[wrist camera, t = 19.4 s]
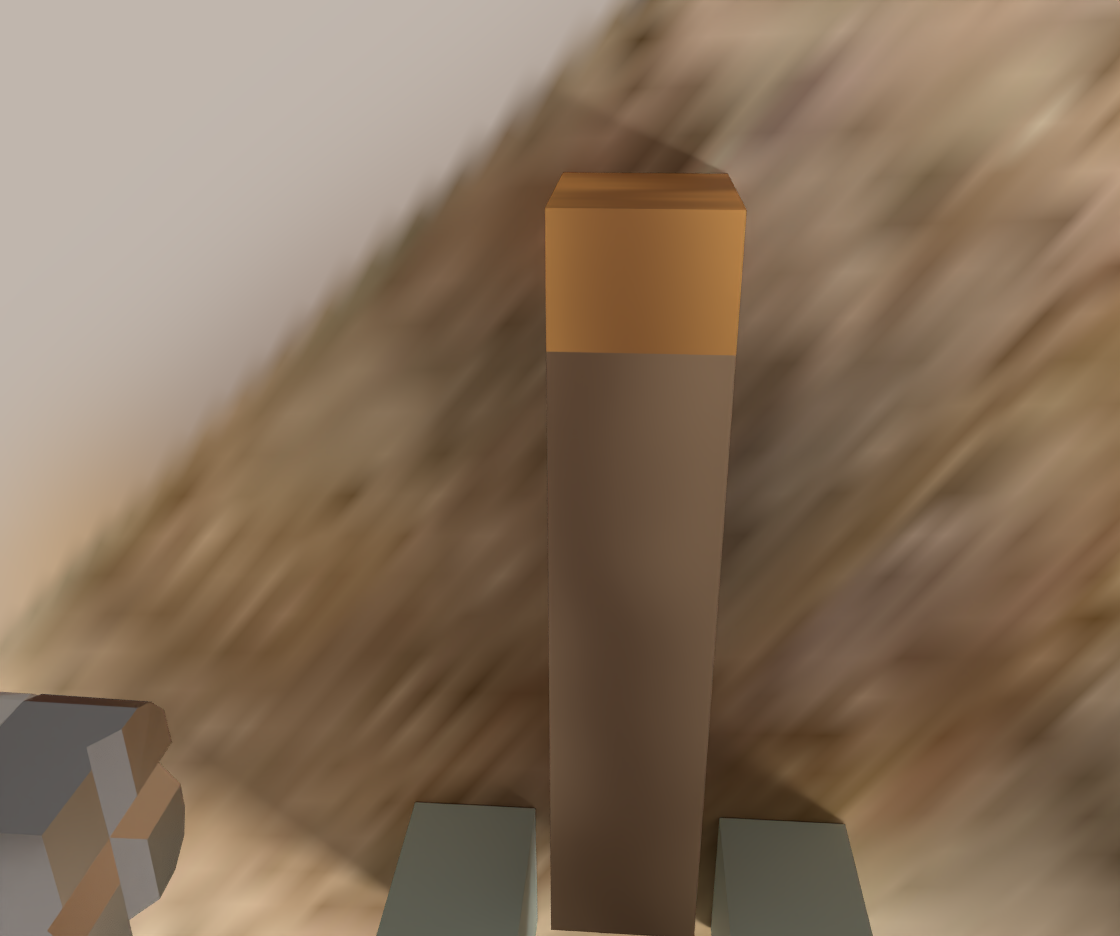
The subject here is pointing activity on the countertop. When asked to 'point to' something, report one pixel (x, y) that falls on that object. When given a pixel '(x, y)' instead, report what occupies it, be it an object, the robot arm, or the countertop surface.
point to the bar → (635, 532)
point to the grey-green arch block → (511, 877)
